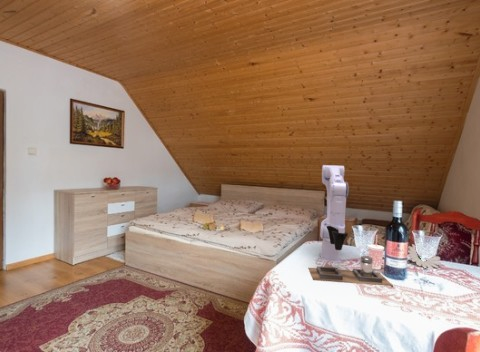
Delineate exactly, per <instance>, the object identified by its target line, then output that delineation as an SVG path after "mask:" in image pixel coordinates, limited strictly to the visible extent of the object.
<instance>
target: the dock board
mask: <svg viewBox="0 0 480 352" xmlns="http://www.w3.org/2000/svg"><path fill="white" fill-rule="evenodd" d="M360 269H361V268H360ZM360 269H359V268H352V270H350V269H349V270H347V269H338V267H331V266H330V267H329V266H316V267H308V271H309V273H310V276H311V278H312V280H313V281H321V282H332V283H347V284H348V283H349V284H357V285H358V284H361V285H371V286H373V285H375V286H385V287H388V286H390V287H391V288H394V285H393V284H392V283H391V282H390V281H389V280H387V278H386V277H384V275H382V274H381V272H378V271H375V269H372V277H365V276H361V275H360Z"/></svg>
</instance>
